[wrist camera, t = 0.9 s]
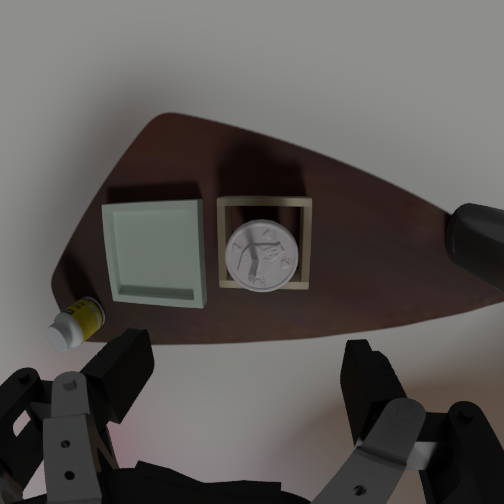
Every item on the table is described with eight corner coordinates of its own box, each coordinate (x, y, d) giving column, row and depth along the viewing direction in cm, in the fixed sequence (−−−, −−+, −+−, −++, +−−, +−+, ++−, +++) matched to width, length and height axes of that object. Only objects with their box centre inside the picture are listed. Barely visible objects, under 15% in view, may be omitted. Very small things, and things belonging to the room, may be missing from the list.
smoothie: (228, 226, 33) (196, 257, 20) (275, 199, 32) (275, 212, 19) (256, 271, 35) (243, 328, 21) (302, 246, 33) (319, 290, 20)
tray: (202, 198, 33) (197, 200, 31) (207, 300, 36) (202, 308, 34) (111, 203, 34) (101, 205, 32) (121, 294, 37) (113, 300, 35)
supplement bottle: (95, 291, 38) (56, 318, 28) (111, 322, 39) (77, 354, 29) (74, 300, 38) (37, 326, 29) (90, 329, 40) (56, 359, 30)
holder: (307, 196, 32) (312, 198, 27) (304, 275, 34) (308, 289, 30) (224, 195, 33) (216, 198, 28) (226, 274, 35) (219, 287, 31)
